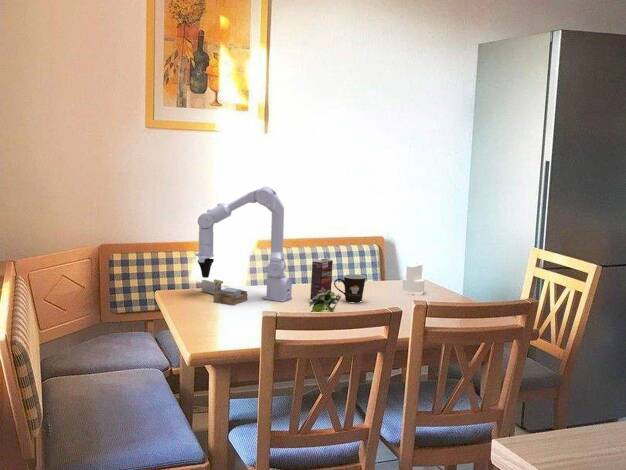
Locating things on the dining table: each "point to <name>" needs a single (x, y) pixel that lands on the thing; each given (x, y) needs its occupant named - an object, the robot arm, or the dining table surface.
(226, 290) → the lid
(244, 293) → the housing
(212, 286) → the key
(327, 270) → the supplement box
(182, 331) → the dining table surface
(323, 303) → the green leafy plant
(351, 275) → the coffee mug
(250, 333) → the dining table surface
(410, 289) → the base with upright slab
